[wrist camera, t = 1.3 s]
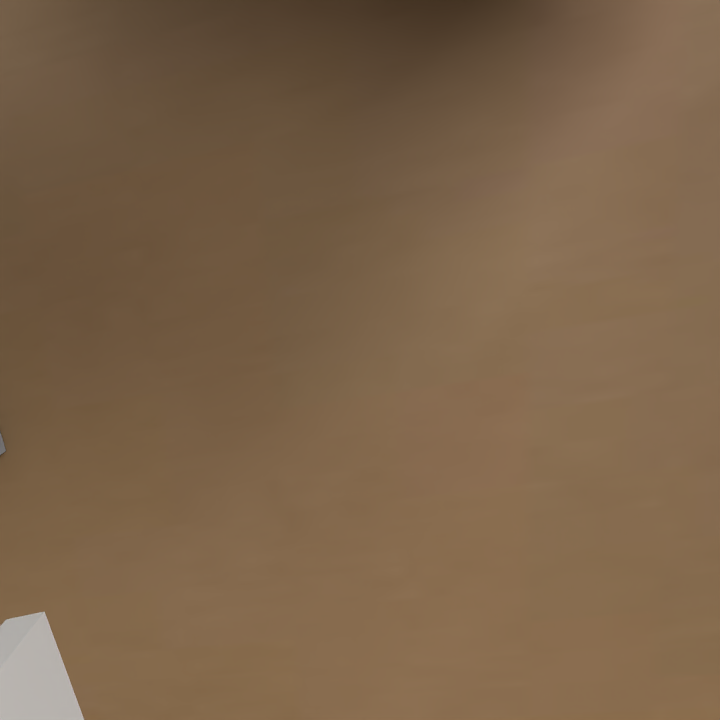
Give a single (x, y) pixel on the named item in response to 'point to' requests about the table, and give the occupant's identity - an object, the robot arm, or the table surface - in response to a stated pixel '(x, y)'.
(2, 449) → the keeper
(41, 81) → the table surface
